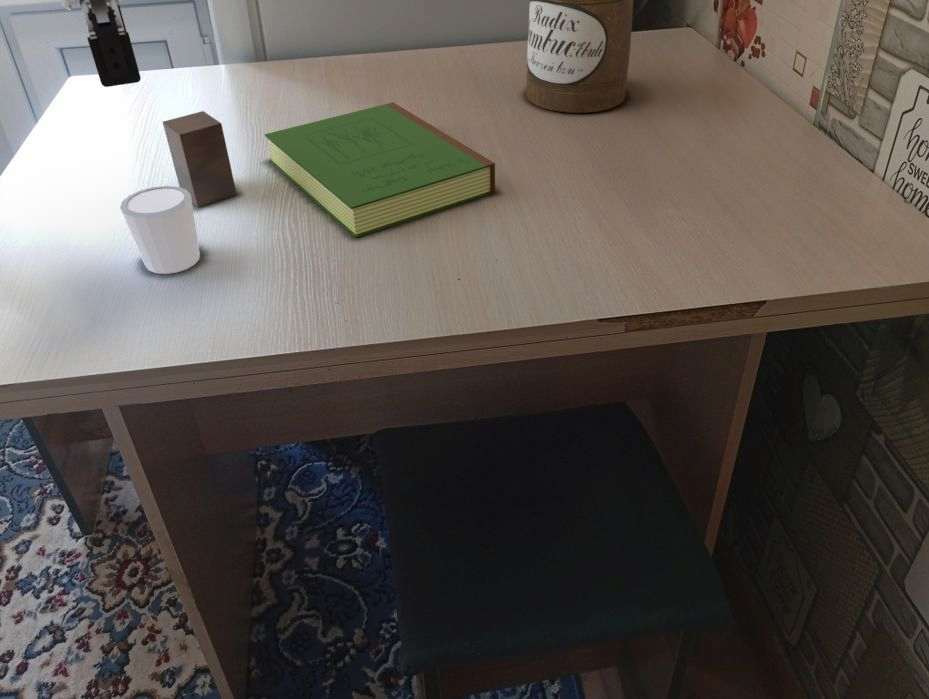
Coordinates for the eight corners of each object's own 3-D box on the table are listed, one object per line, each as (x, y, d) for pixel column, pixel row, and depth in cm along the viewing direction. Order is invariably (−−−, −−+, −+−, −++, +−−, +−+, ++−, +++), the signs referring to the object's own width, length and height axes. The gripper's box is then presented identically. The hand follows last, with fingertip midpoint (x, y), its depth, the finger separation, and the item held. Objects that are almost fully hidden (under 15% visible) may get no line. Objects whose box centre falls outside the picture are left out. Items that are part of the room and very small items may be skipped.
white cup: (184, 236, 87) (169, 178, 83) (218, 258, 83) (203, 198, 79) (127, 260, 83) (107, 201, 79) (159, 284, 79) (140, 223, 75)
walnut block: (197, 207, 92) (179, 134, 87) (181, 193, 96) (162, 121, 90) (237, 195, 95) (221, 123, 89) (219, 181, 98) (203, 110, 92)
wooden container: (506, 99, 118) (508, -64, 105) (563, 72, 127) (571, -81, 114) (589, 122, 111) (603, -50, 97) (643, 92, 119) (663, -69, 106)
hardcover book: (494, 192, 94) (495, 163, 92) (355, 238, 86) (351, 207, 84) (392, 126, 111) (390, 100, 108) (267, 159, 103) (262, 132, 100)
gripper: (2, -165, 65) (70, 46, 76) (-6, -144, 53) (77, 105, 63) (97, -170, 68) (150, 35, 78) (111, -152, 55) (172, 90, 66)
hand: (117, 66), depth 71 cm, fingers open, 9 cm apart
